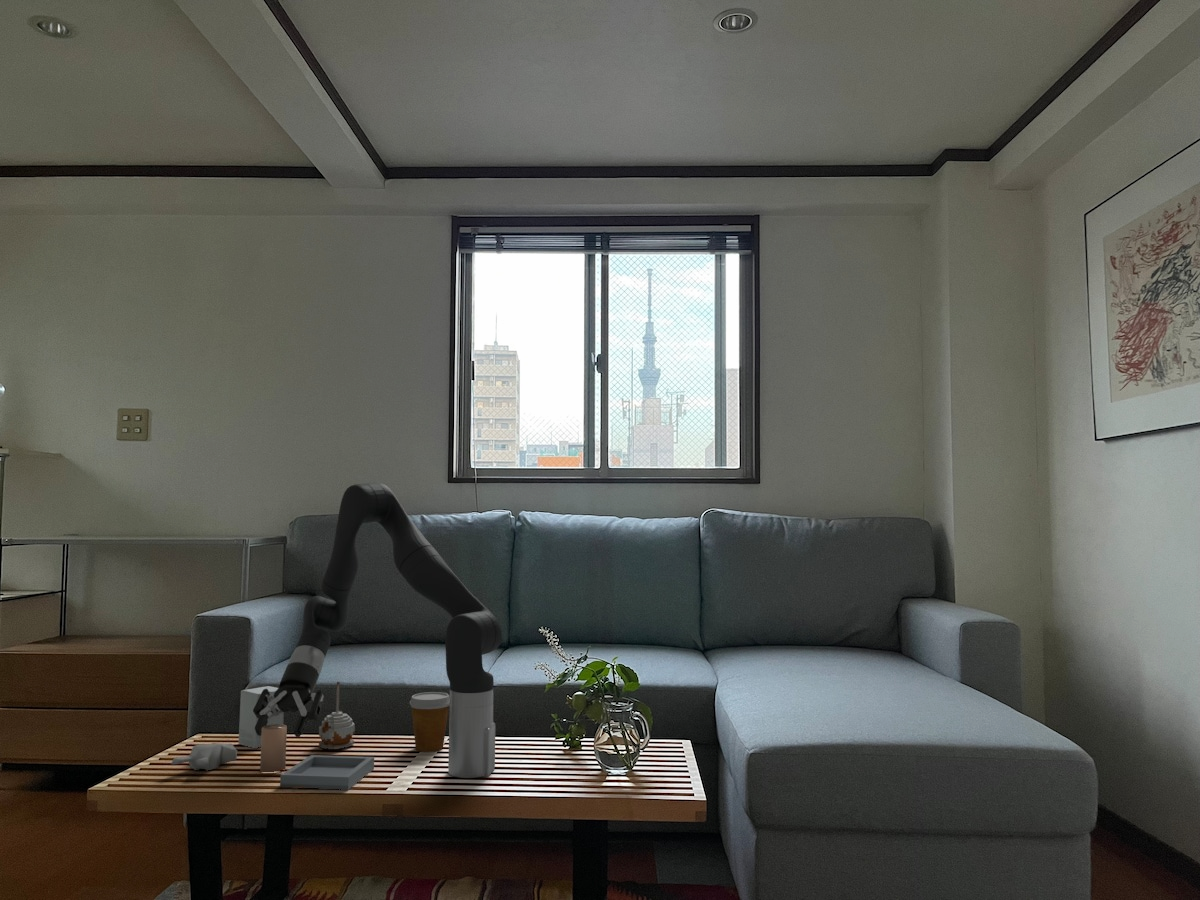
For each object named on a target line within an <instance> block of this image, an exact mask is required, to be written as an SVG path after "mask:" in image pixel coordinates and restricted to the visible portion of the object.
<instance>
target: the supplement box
mask: <svg viewBox="0 0 1200 900" xmlns="http://www.w3.org/2000/svg"><path fill="white" fill-rule="evenodd" d="M278 688H279V687H276V686H269V685H267V686H261V687H254V688H247V689H242V690H240V700H239V701H240V703H239V724H238V725H239V727H238V745H241V746H245V747H247V746H248V747H247V748H250V747H252V748H251V749H253V748H256V749H259V748H261V736H258V735H257V733H256V731H255V726H256V724H257V721H258V719H259V718H257V717H256V715H255V714H254V712H253V709H254V707H255V705H256V703H257V701H258V699H259V697H260V695H261V693H262V691H263V690H264V689H268V691H270V692H275V691H276V690H277V689H278ZM274 699H275V698H273V699H272V700H274ZM272 700H271V701H272ZM269 703H270V702H269ZM269 703H268V704H269ZM267 706H268V705H267ZM277 707H278V706H277V704H276V705H275V708H277ZM269 712H270V711H269ZM284 714H285V712H282V711H281V712H280V713H278V714H277V715H273V716H272V717H271V718H270V719H268V720H267V721H268V723H267V725H272V724H284ZM267 725H266V726H267ZM258 747H259V748H258Z"/></svg>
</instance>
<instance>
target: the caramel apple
mask: <svg viewBox="0 0 1200 900" xmlns="http://www.w3.org/2000/svg"><path fill="white" fill-rule="evenodd" d="M340 683H341V682H340V681H339V680H337V681H336V695H335V696H336V699H335V700H336V701H335V703H336V704H335V707H336V708H335V711H333V712H331V714H327V715H326V717H324V719H323V720H322V721H321V725H319V726H318V727H319V728H318V736H319V737H320V739H321V740H320V742H318V747H319V748H322V749H327V748H328V749H327V750H333V749H334V750H339V748H343V749H345V748H349V747H351V746H353V745H354V744H355V740H354V739H353V735H355V734H356V733H355V731H356V726H355V723H354V722H353V719H352V717H350V715H348V714H347V713H343V711H340V686H341V685H340ZM344 747H345V748H344Z"/></svg>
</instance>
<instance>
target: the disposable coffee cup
mask: <svg viewBox="0 0 1200 900" xmlns="http://www.w3.org/2000/svg"><path fill="white" fill-rule="evenodd" d="M409 704H410V707H411V715H412V717H411V718H412V723H413V724H412V725H413V735H414V737H413V738H414V743H415V745H414V746H415V750H416V751H418V752H421V753H432V752H437V751H438V752H439V751H441V750H443V749H444V743H445V736H446V729H447V721H448V717H449V707H450V694H448V693H447V692H440V691H438V692H437V691H429V692H428V691H427V692H420V693H419V692H418V693H416V694H413V695H412V696H411V699H410V700H409ZM442 748H443V749H442Z"/></svg>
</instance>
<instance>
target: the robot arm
mask: <svg viewBox="0 0 1200 900" xmlns="http://www.w3.org/2000/svg"><path fill="white" fill-rule="evenodd" d="M369 523H378V524H379V525H381V527H382V528H383V529H384V530H385V531H386V533H387V534H388V535H389V537H390V539H391V541H392V553H393V554H392V555H393V561H394V565H395V567H396V569H397V570H398V572H399V573H400V574H401V576H402V577H403V579H404V580H405V581H406V583H407V584H408V585H409V586H410V587H411V588H412V589H413V591H415V592H417V593H418V594H420V595H421V596H422V597H424V599H427V600H428V601H430V602H431V603H433V604H435V605H437V606H438V607H439V608H441V609H443V610H444V611H445V612H447V614H449V615H450V617H451V618H452V619H450V621H449V622H448V623H447V627H446V631H445V641H444V642H445V643H444V644H445V670H446V676H447V679H448V682H449V698H450V705H449V708H448V717H449V719H448V761H447V763H448V772H447V773H448V774H449V775H450V776H451V777H455V778H461V779H463V778H464V779H473V778H481V777H482V778H483V777H489V776H490V775H491V774H492V772H493V771H494V769H495V768H496V765H495V764H496V723H495V722H494V683H495V682H494V675H493V674H492V673H491V672H488V671H485V669H484V667H483V655H485V654H489V653H491V652H494V651H496V650H497V649H498V648H499V646H500V644H501V643H502V637H503V633H502V628H501V627H502V626H501V625H500V623H499V620H498V619H497V617H496V616H495V615H494V614H493V613H492V612H491V611H490V610H489V609H488V607H486V606H485V605H484V604H483V603H482V602H481V601H480V600H479V599H478V598H477V597H476V596H474V595H473V593H472V592H471V591H470V590H469V589H468V588H467V587H466V586H465V584H464V583H463V582H462V581H461V580H460V578H459V577H458V576H457V574H455V573H454V571H453V570H452V568H451V567H449V565H448V564H447V563H446V561H445V560H444V558H443V557H442V556H441V555H440V554H439V552H438V551H437V549H435V547H434V546H433V545H432V544H431V543H430V542H429V541H428V540H427V538H426V537H425V536H424V534H423V533H422V532H421V531H420V529H419V528H418V526H416V524H415V523H414V521H412V519H411V518H410V516H409V515H408V513H407V512H406V510H405V508H404V506H402V504H401V502H400V501H399V500H398V497H397V496H396V495H395V493H394V492H393V491H392V490H391V488H390V487H389V486H387V485H386V484H384V483H381V482H369V483H367V482H366V483H356V484H353V485H350V486H349V487H347V488H346V489H345V490H344V492H343V495H342V498H341V502H340V506H339V511H338V516H337V523H336V529H335V534H334V540H333V548H332V550H331V555H330V559H329V562H328V565H327V567H326V570H325V573H324V576H323V578H322V581H321V585H320V589H321V592H322V593H323V594H324V595H325V596H326V597H329V598H330V599H329V598H326V597H324V596H320V595H314V596H313V597H310V598H309V599H308V600H307V602H306V603H305V605H304V609H303V615H302V616H303V620H302V621H303V623H302V628H301V629H302V630H301V634H300V637H299V639H298V642H297V645H296V647H295V649H294V651H293V653H292V654H291V656H290V658H289V660H288V663H287V665H286V668H285V670H284V672H283V675H282V677H281V679H280V682H279V685H278V687H277V688H278V689H277V690H276V691H275V692H270V691H268V689H264V690H263V691H262V693H261V695H260V697H259V699H258V701H257V703H256V705H255V707H254V709H253V712H254V714H255V715H256V717H257V718H259V719H258V721H257V724H256V726H255V731H256V733H257V735H258V736H261V733H262V727H263V726H266V725H267V723H268V721H267V720H268V719H270V718H271V717H272V716H273V715H277V714H278V713H280V712H281V711H282V712H284V713H287V712H291V713H296V712H297V711H299V713H300V715H301V716H298V719H297V722H296V725H295V727H294V730H293V734H294V736H295V738H300V737H301V735H304V734H305V730H306V728H307V725H308V723H309V722H310V721H312V720H314V721H317V720H318V719H319V718H320V715H321V712H322V708H323V706H324V705H323V704H324V702H325V696H324V693H323V692H322V690H320V689H319V690H317V691H316V692H314V690H315V688H316V686H317V682H318V681H319V680H318V679H319V678H320V677H319V676H320V675H321V673H322V669H323V667H324V663H325V659H326V656H327V653H328V650H329V648H330V645H331V643H332V638H331V636H330V634H329V633H328V632H327V631H331V632H336V633H337V632H338V631H339V632H340V631H341V630H342V629H344V627H345V626H346V625H347V622H348V621H349V614H350V613H349V611H350V609H349V608H350V607H349V606H350V605H349V603H350V601H349V600H350V594H351V590H352V587H353V585H354V583H355V581H356V577H357V575H358V574H357V573H358V570H359V561H360V560H359V555H358V551H357V546H356V545H357V544H356V538H357V535H358V533H359V531H360V528H361V527H362V525H363V524H369ZM326 630H327V631H326ZM273 698H275V699H274V700H272V699H273ZM271 700H272V701H271ZM311 701H312V704H311V707H310V710H309V711H307V708H306V705H307V704H308V703H309V702H311ZM269 702H270V703H269ZM268 703H269V704H268ZM276 704H277V706H278V707H277V708H275V705H276ZM267 705H268V706H267ZM269 711H270V712H269Z"/></svg>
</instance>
